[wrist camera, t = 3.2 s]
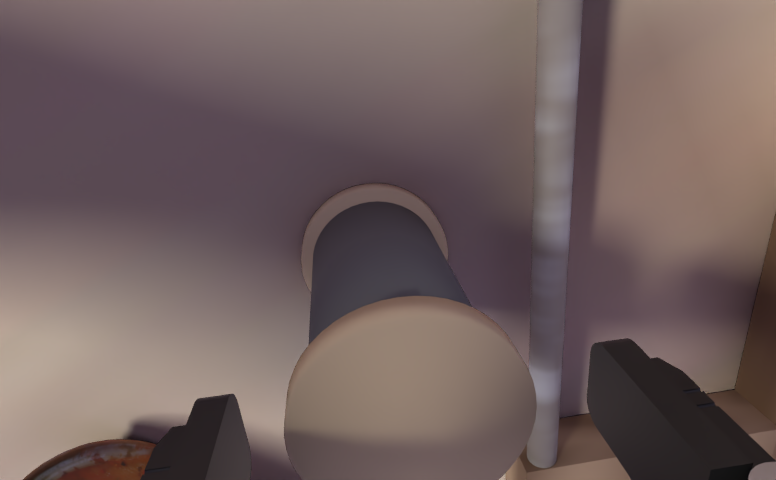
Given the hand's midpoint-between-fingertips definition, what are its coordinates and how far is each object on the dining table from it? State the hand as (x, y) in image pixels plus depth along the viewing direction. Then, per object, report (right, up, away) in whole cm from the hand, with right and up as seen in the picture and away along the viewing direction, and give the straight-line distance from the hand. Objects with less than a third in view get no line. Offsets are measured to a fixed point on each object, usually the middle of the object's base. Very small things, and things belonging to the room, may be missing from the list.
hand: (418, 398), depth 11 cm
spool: (-1, +3, +7) cm, 8 cm away
